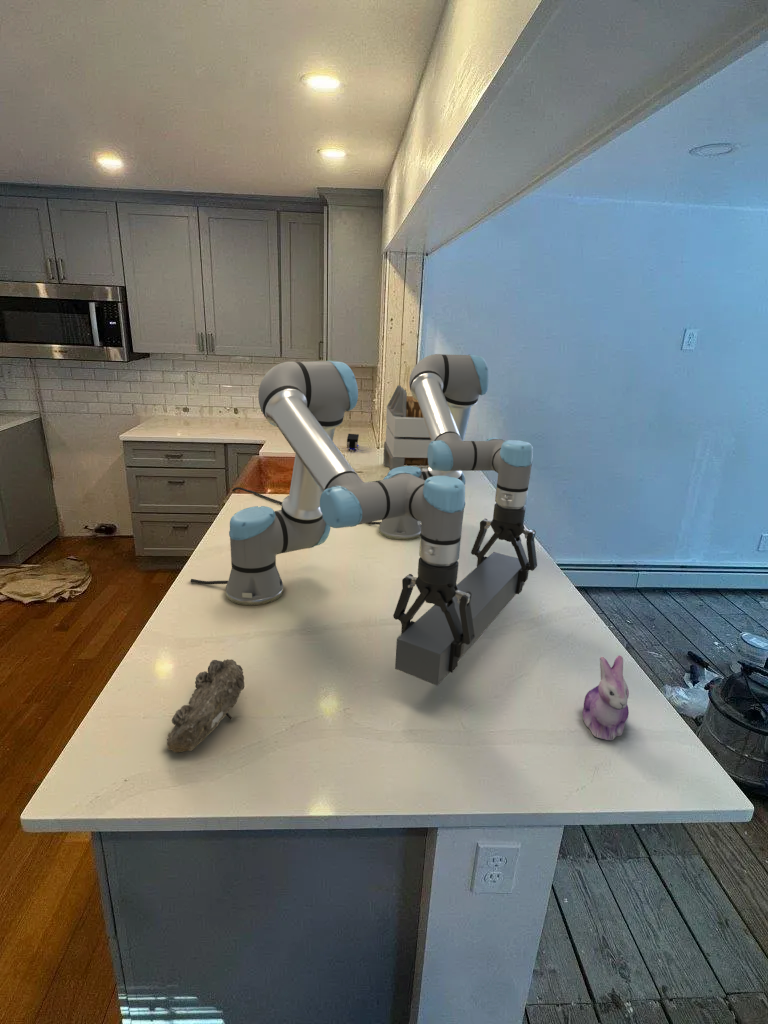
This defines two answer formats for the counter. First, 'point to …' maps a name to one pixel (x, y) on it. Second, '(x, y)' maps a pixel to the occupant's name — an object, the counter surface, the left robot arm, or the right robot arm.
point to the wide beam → (431, 636)
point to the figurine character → (352, 441)
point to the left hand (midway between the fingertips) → (430, 660)
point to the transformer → (405, 432)
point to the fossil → (206, 705)
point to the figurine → (607, 702)
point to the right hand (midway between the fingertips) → (499, 586)
